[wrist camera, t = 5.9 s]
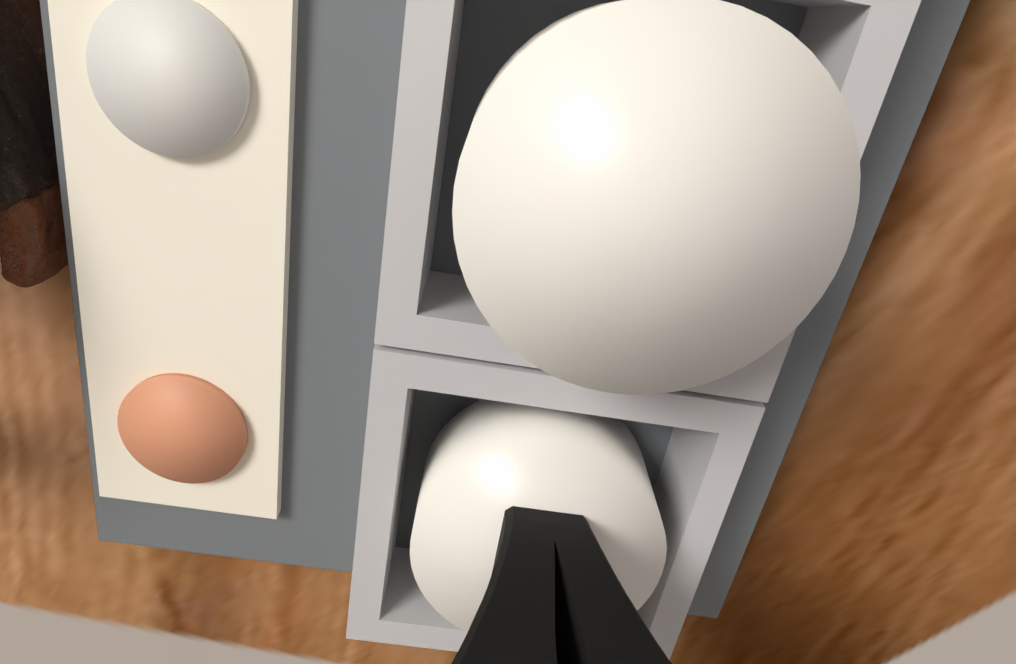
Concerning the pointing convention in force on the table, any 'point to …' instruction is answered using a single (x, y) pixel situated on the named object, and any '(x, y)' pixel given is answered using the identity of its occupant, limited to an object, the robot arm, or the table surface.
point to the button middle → (655, 193)
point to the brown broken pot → (27, 152)
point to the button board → (376, 280)
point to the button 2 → (529, 498)
